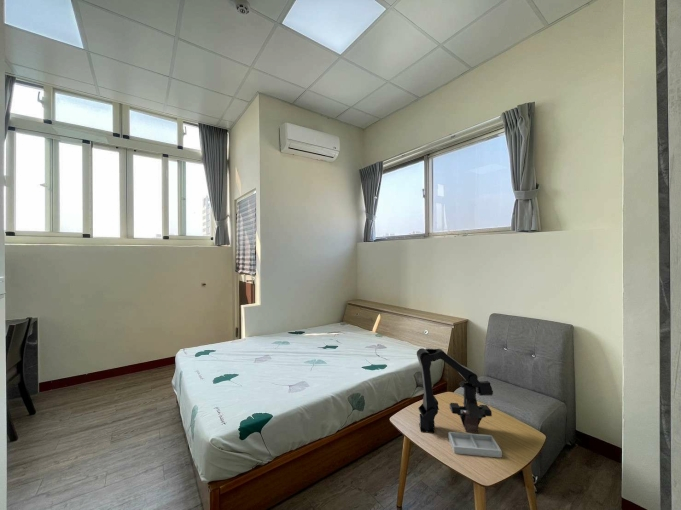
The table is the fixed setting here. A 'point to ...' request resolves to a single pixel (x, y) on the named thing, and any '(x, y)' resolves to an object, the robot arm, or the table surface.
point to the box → (470, 423)
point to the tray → (474, 444)
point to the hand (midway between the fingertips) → (470, 426)
